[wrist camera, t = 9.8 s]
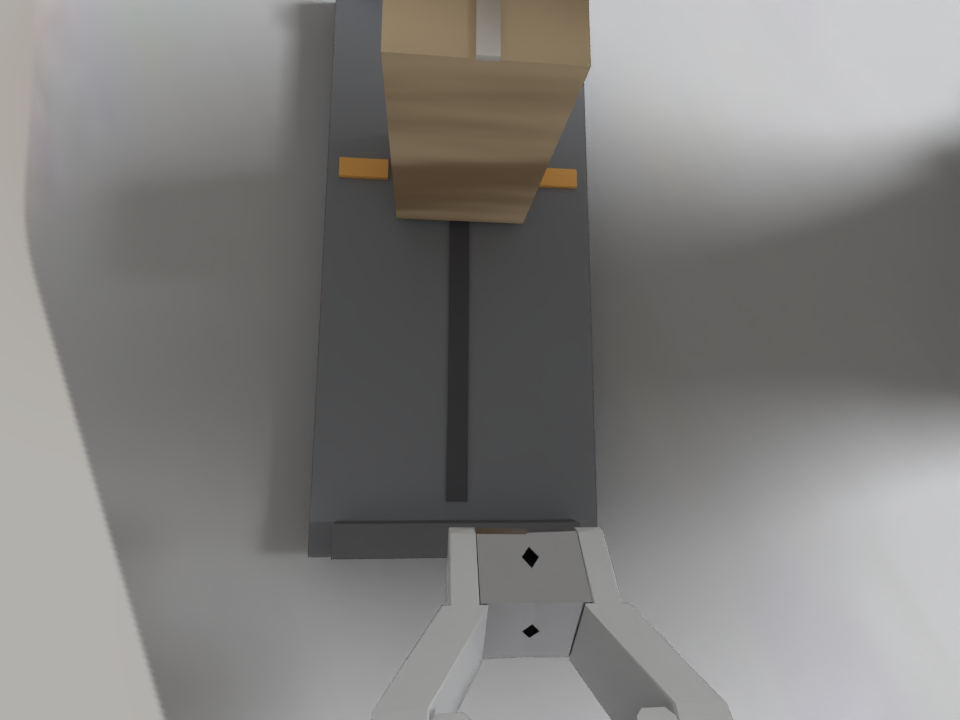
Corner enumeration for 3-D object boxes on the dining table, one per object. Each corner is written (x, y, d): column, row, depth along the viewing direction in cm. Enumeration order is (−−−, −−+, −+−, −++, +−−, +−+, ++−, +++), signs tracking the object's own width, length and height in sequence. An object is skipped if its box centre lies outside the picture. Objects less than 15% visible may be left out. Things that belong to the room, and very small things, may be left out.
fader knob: (522, 224, 25) (593, 62, 15) (396, 219, 24) (379, 48, 14) (521, 133, 25) (588, -80, 15) (399, 126, 25) (385, -99, 15)
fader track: (583, 546, 25) (607, 558, 22) (316, 549, 24) (301, 562, 21) (570, 19, 29) (588, -34, 26) (343, 2, 28) (333, -56, 25)
